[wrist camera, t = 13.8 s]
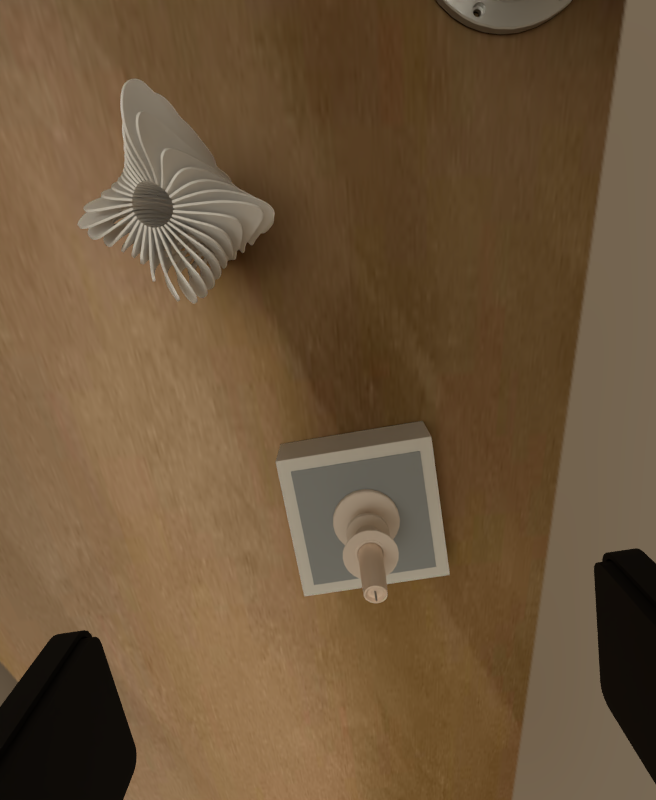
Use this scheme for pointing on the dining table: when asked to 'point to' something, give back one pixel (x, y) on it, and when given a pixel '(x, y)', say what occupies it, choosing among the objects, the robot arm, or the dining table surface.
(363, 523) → the candle
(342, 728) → the dining table surface
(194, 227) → the shell sculpture
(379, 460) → the plinth
